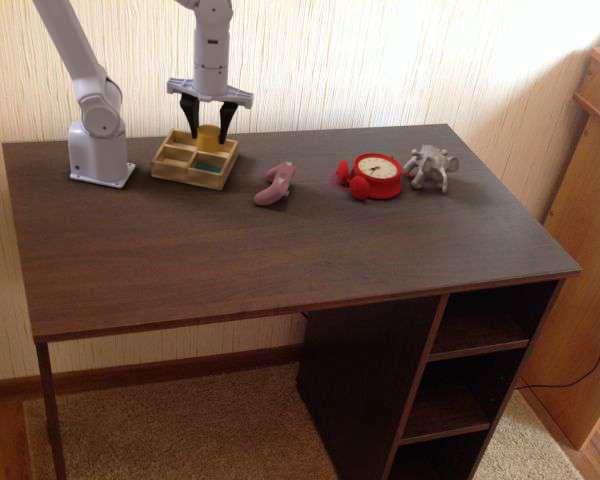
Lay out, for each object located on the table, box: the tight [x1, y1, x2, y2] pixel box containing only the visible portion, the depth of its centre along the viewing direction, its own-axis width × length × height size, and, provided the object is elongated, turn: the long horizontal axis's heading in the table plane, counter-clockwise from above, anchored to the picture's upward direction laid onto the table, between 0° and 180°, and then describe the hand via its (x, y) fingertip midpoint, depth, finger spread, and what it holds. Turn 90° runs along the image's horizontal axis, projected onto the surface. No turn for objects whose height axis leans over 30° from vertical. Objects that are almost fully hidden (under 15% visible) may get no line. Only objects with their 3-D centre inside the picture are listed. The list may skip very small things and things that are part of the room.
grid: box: [150, 127, 240, 191], centre depth 139 cm, size 13×13×3 cm
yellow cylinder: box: [196, 123, 221, 153], centre depth 132 cm, size 4×4×3 cm
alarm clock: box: [330, 152, 414, 201], centre depth 141 cm, size 10×6×15 cm
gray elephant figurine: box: [402, 144, 460, 194], centre depth 142 cm, size 9×12×8 cm
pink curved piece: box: [253, 160, 298, 206], centre depth 135 cm, size 10×5×7 cm, turn 168°
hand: (208, 138), depth 132 cm, fingers closed on yellow cylinder, 4 cm apart
